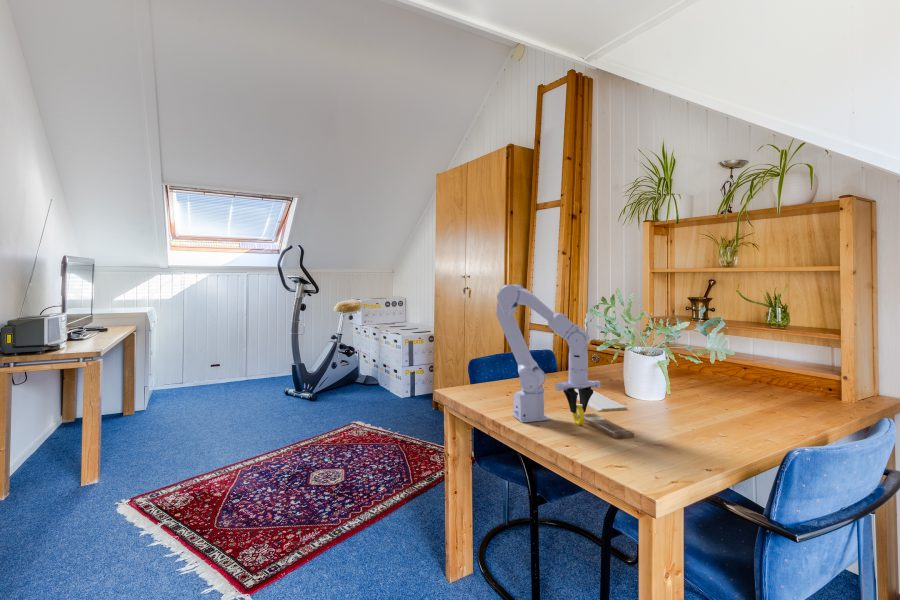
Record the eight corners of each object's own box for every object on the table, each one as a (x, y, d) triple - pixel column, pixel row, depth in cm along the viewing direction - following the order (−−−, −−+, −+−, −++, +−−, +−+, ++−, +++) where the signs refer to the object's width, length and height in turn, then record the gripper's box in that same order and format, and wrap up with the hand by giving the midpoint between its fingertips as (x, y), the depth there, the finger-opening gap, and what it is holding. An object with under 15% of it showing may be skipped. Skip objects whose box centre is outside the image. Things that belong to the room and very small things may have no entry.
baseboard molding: (594, 413, 153) (626, 411, 155) (594, 405, 153) (626, 403, 155) (556, 391, 184) (584, 389, 186) (557, 384, 183) (584, 382, 185)
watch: (570, 422, 143) (569, 403, 143) (579, 421, 143) (578, 402, 144) (578, 426, 137) (577, 406, 137) (587, 425, 137) (586, 405, 138)
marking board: (615, 438, 127) (615, 435, 127) (577, 417, 146) (577, 414, 146) (634, 436, 128) (634, 433, 128) (594, 416, 148) (594, 413, 148)
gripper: (563, 372, 134) (563, 417, 135) (606, 369, 138) (606, 413, 138) (552, 367, 141) (552, 411, 141) (593, 365, 144) (593, 407, 145)
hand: (577, 411), depth 140 cm, fingers closed on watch, 3 cm apart
